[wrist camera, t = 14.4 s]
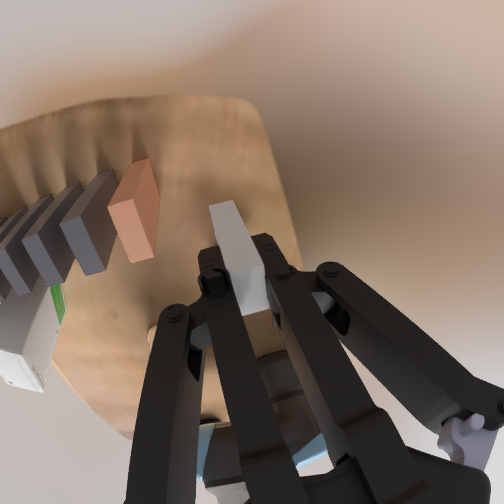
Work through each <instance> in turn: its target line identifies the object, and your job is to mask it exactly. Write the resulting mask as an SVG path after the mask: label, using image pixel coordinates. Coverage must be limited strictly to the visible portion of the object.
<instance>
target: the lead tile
mask: <svg viewBox="0 0 504 504" xmlns="http://www.w3.org/2000/svg"><path fill="white" fill-rule="evenodd" d="M159 206H160V195H159V191H158V188H157V185H156V181H155V178H154V174H153V171H152V167H151V163H150V160H149V158H146V159H142V160H139V161H136V162H133V163H131V165H130V167H129V168H128V170H127V172H126V174H125V175H124V177H123V179H122V181H121V182H120V184H119V186H118V188H117V189H116V191H115V193H114V195H113V197H112V199H111V201H110V203H109V204H108V206H107V207H108V210H109V213H110V215H111V218H112V220H113V223H114V225H115V228H116V230H117V232H118V235H119V237H120V240H121V242H122V244H123V246H124V249H125V251H126V253H127V255H128V258H129V260H130V262H131V263H135V262H138V261H142V260H146V259H149V258H153V257H155V244H156V233H157V223H158V214H159Z"/></svg>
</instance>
